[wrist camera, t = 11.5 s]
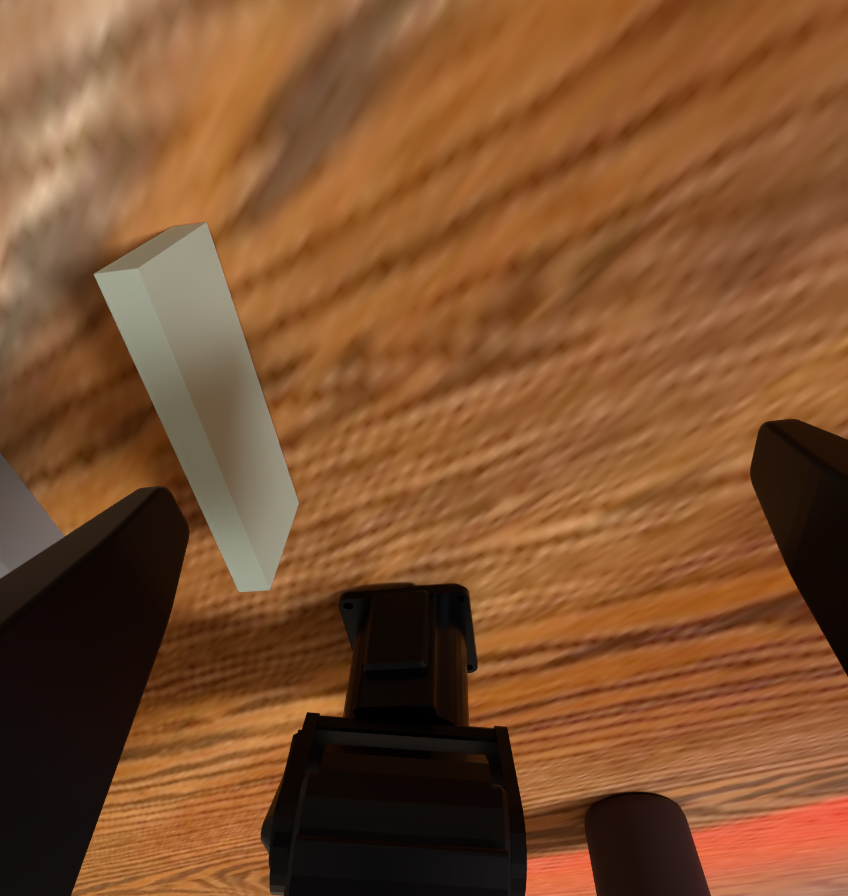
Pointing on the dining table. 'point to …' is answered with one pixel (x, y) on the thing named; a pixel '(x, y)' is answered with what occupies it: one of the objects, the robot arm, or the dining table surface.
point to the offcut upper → (21, 522)
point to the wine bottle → (643, 848)
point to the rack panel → (206, 394)
